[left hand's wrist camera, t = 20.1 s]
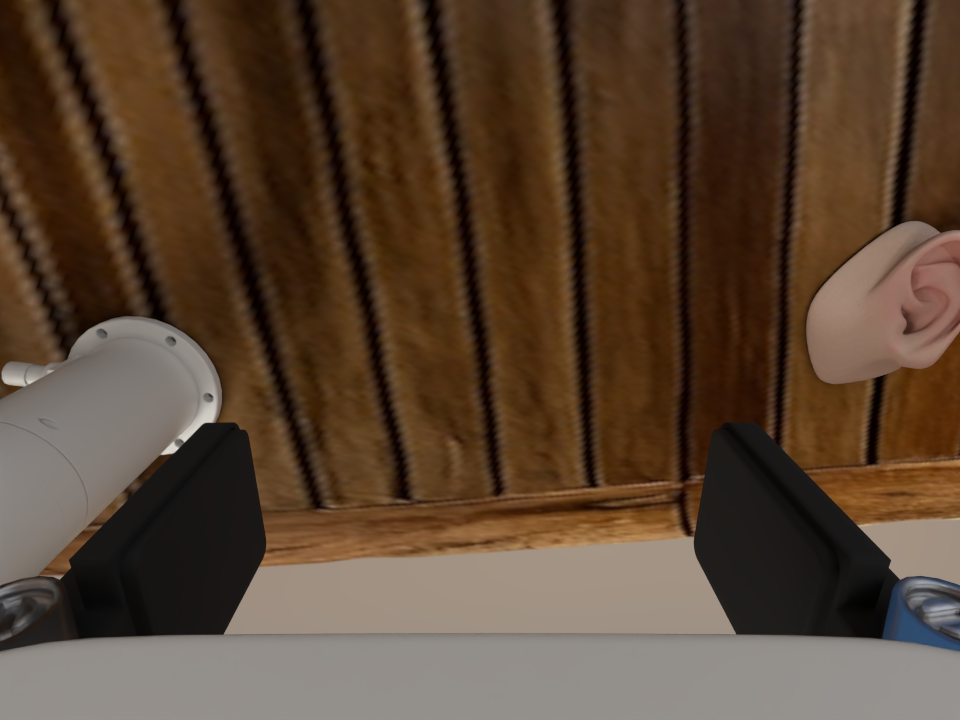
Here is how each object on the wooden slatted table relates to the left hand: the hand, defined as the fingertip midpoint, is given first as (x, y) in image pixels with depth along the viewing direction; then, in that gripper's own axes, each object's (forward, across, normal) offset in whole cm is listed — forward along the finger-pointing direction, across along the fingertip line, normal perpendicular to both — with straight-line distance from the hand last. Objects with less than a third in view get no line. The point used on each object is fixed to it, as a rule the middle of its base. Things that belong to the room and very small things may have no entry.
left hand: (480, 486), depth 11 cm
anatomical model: (+35, -33, +6) cm, 48 cm away
